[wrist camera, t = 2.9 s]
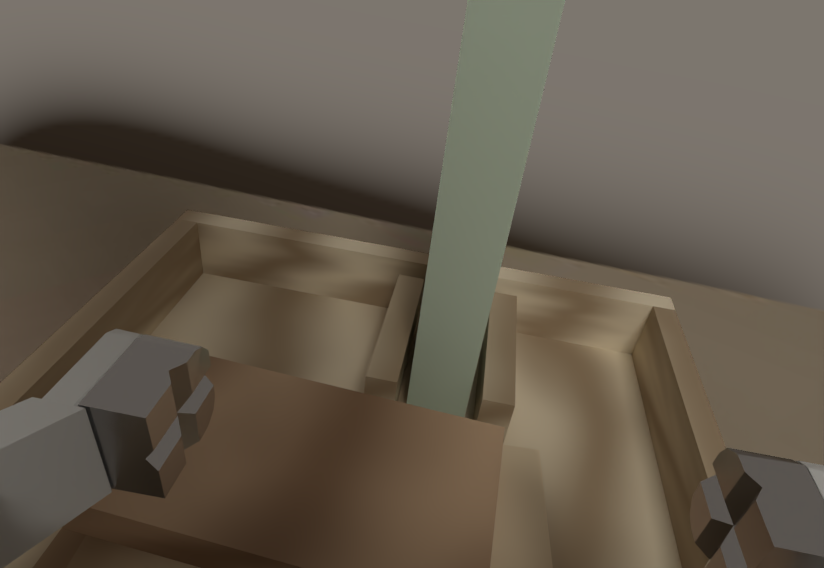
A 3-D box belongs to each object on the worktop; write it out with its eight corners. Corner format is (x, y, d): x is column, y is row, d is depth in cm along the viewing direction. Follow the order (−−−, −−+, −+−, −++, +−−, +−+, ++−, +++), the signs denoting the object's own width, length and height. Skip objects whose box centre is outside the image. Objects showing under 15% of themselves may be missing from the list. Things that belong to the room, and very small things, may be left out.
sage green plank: (405, 410, 23) (488, -130, 13) (423, 334, 27) (496, -123, 17) (463, 422, 23) (593, -116, 13) (472, 343, 27) (576, -112, 17)
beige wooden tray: (-164, 706, 15) (-263, 626, 12) (197, 282, 31) (187, 209, 29) (781, 949, 13) (898, 916, 11) (638, 366, 29) (670, 297, 27)
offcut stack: (28, 618, 16) (-23, 533, 13) (163, 423, 21) (145, 338, 19) (535, 740, 15) (582, 672, 12) (532, 500, 20) (563, 422, 18)
